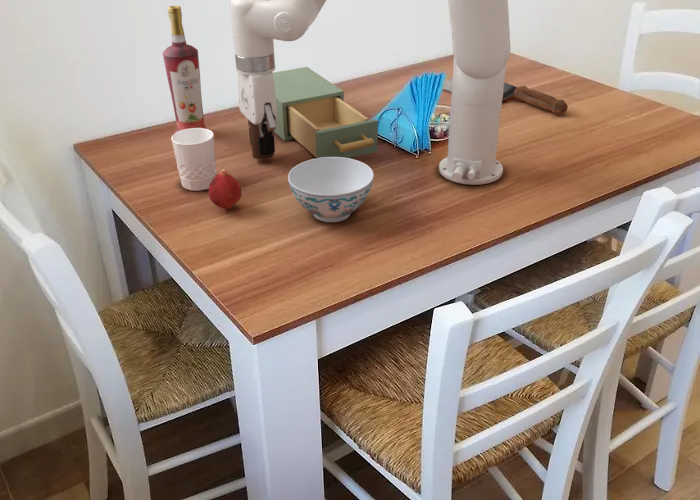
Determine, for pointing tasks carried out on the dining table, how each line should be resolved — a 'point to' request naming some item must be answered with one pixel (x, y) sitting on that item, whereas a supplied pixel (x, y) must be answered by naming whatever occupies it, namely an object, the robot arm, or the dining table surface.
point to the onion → (224, 190)
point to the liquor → (183, 76)
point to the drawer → (332, 128)
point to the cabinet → (299, 93)
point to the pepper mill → (254, 141)
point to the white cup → (195, 157)
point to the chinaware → (331, 186)
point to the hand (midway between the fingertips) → (262, 148)
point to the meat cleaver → (527, 97)
